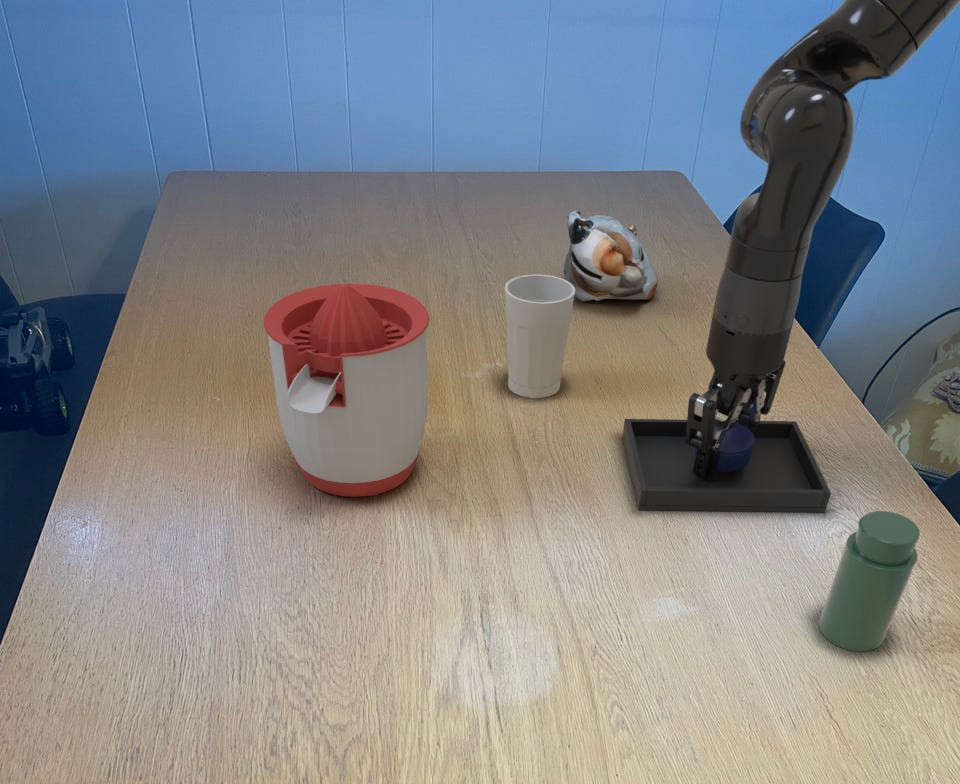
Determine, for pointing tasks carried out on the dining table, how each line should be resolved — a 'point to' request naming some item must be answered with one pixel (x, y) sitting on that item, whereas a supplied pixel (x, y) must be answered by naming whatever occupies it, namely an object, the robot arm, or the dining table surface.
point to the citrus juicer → (351, 384)
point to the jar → (870, 581)
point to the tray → (757, 487)
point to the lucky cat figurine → (607, 260)
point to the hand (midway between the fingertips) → (720, 464)
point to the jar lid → (734, 449)
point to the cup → (537, 332)
